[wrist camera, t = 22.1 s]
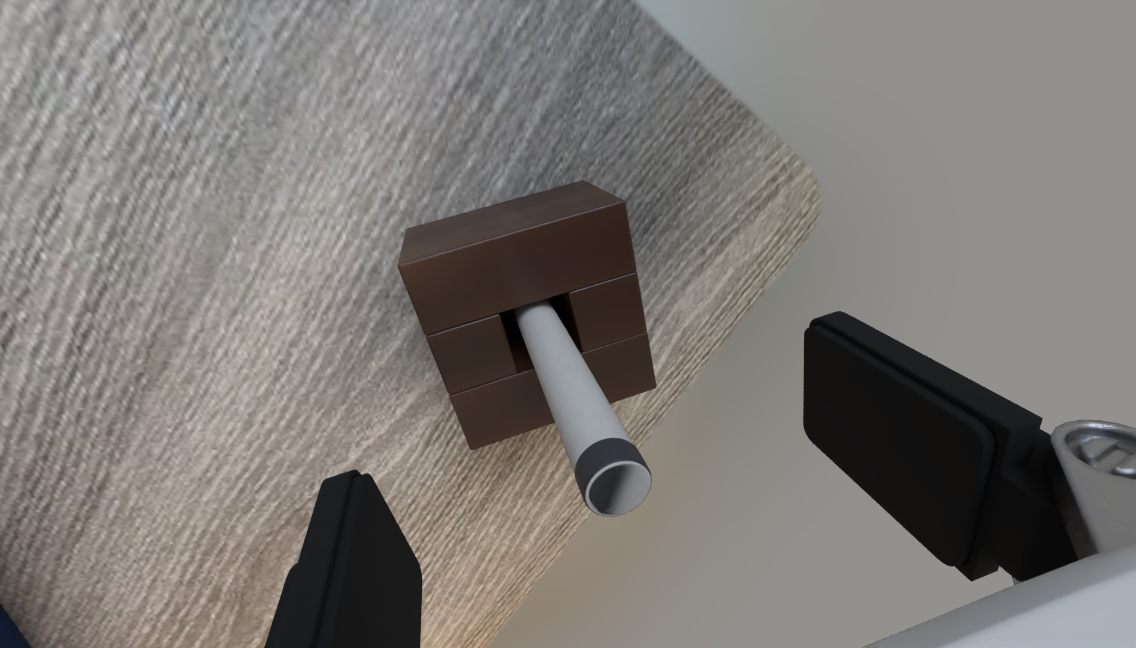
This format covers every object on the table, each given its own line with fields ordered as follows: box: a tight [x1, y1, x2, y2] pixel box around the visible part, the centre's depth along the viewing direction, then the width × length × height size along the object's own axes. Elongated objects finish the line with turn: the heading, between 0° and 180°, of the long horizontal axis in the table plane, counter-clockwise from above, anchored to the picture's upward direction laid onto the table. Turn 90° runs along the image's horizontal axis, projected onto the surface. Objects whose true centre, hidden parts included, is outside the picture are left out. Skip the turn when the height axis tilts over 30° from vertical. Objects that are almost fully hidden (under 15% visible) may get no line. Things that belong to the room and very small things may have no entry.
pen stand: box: [398, 180, 656, 450], centre depth 19 cm, size 7×7×5 cm
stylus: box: [512, 298, 652, 517], centre depth 15 cm, size 1×1×13 cm
